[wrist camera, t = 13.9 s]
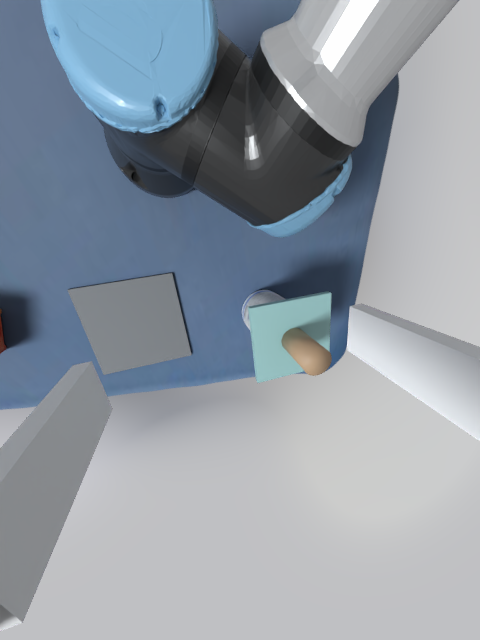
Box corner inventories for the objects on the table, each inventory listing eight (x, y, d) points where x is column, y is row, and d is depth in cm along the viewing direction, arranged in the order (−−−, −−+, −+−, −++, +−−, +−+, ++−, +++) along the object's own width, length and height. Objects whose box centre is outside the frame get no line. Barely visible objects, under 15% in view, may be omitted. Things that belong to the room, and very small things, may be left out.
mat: (68, 289, 39) (67, 289, 39) (172, 272, 42) (171, 273, 42) (104, 373, 46) (103, 374, 45) (191, 353, 49) (191, 355, 48)
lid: (247, 306, 32) (266, 326, 25) (327, 291, 34) (365, 305, 27) (255, 379, 37) (273, 414, 30) (325, 361, 39) (357, 390, 32)
